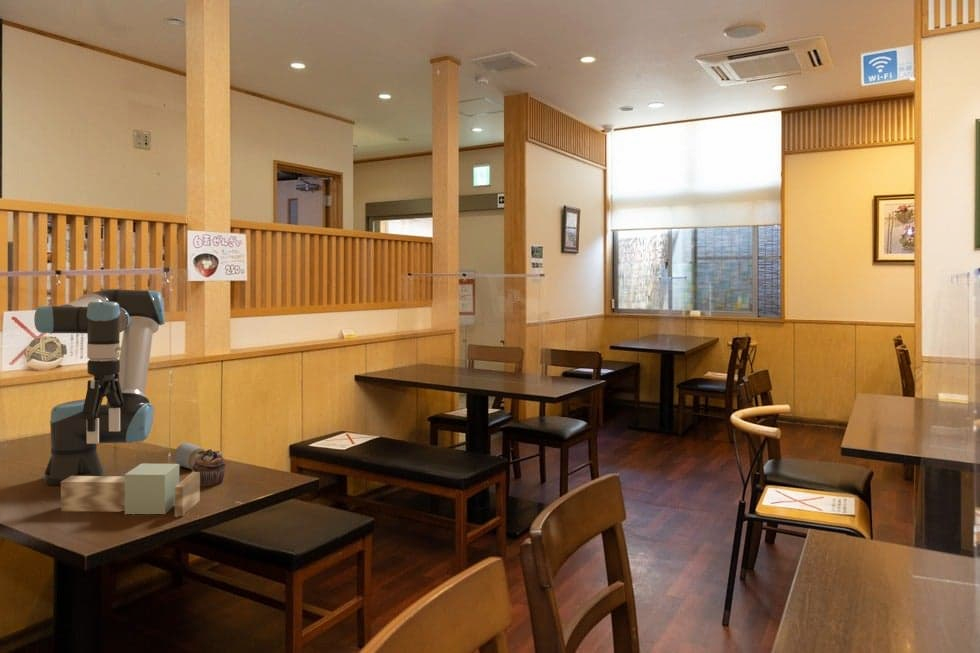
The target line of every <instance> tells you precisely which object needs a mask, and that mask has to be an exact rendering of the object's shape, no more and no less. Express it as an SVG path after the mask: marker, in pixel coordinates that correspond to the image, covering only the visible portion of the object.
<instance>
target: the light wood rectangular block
mask: <svg viewBox="0 0 980 653" xmlns="http://www.w3.org/2000/svg"><path fill="white" fill-rule="evenodd" d="M121 511H125V475H124V476H123V475H122V476H119V475H117V476H111V475H110V476H108V475H107V476H105V475H103V476H70V477H68V478H66V479H65V480H63V481H61V486H60V512H112V513H113V512H116V513H117V512H119V513H121Z"/></svg>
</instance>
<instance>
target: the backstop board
mask: <svg viewBox="0 0 980 653" xmlns="http://www.w3.org/2000/svg"><path fill="white" fill-rule="evenodd" d="M200 500H201V486H200V472H192V471H191V472H190V473H189V474H188V475H187V476H186V477H184V479H183V480H181V481H179V484H178V485H177V486H175V506H174V517H175V516H183V515H184V514H185V513H186V512H187V511H188V510H189V509H190V508H191V509H193V507H195V506H196V504H198V503H199V502H200ZM191 509H190V510H191ZM190 510H189V511H190ZM189 511H188V512H189ZM188 512H187V513H188ZM187 513H186V514H187ZM186 514H185V515H186ZM185 515H184V516H185ZM184 516H183V517H184Z"/></svg>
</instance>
